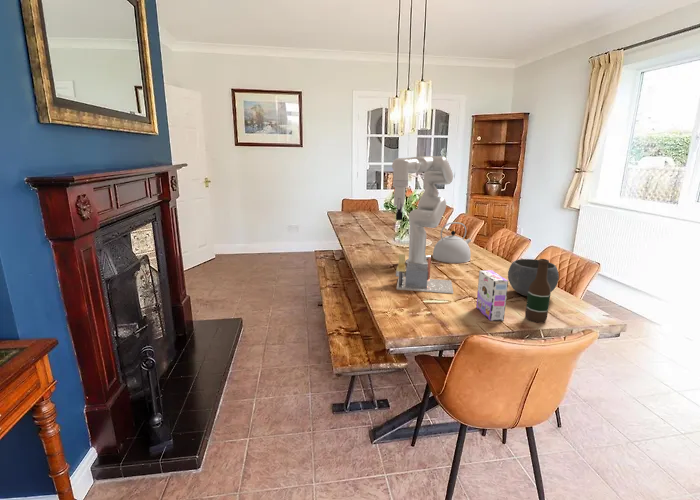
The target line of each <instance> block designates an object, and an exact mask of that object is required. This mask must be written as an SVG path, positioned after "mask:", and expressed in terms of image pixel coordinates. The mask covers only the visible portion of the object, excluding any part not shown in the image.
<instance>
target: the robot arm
mask: <svg viewBox="0 0 700 500" xmlns="http://www.w3.org/2000/svg"><path fill="white" fill-rule="evenodd" d="M391 168H392V170H393V171H392V172H393V175H392V176H393V178H392V180H393V181H392V187H393V188H394V195H393V207H394V208H395V207H396V212H395V213H396V214H395V219H396V220H395V221H402V220H403V215H404V213H403V207H404V205H405V199H406V188H408V187H409V174H417V173H419V174H420V173H424V174H423V184H424V191H423V193H422V196H421V197H420V199H419V201H418V203H417V209H412V210H411V211H410V212H409V214H408V223H409V224H408V225H409V241H408V259H405V264H407V263H414V264H428V257H431V255H430V254H429V255H426V251H427V250H426V247H427V231H426V229H425V228H428V229H429V228H431V229H434V228H437V227H438V226H439V224H440V222H441V220H442V218H443V216H444V214H445V212H446V208H447V201H446V199H445V198H444V197H442V196H439V190H438V189H437V186H436V185H450V184H451V183H453V180H454V174H453V169H452V167H451V166H450V163H449V160H448V158H446V157H445V156H443V155H442V156H441V155H436V156H435V155H434V156H433V155H431V156H430V155H428V156H427V155H426V156H424V155H423V156H412V157H411V156H410V157H397V158H395V159H394V160H393V162H392V164H391Z"/></svg>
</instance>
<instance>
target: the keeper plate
mask: <svg viewBox="0 0 700 500" xmlns="http://www.w3.org/2000/svg"><path fill="white" fill-rule="evenodd" d="M406 267H407V265H406V253H398V264H397V267H396V270H397V271H402V272H405V271H406Z"/></svg>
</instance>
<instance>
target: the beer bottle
mask: <svg viewBox="0 0 700 500" xmlns="http://www.w3.org/2000/svg"><path fill="white" fill-rule="evenodd" d="M538 260H539V261H538V263H539V264H538V269H537V274H536V278H535V280H534V281H533V282H532V283H531V285H530V286H529V290H528V296H526V299H527V300H526V305H525V313H524V314H525V315H524V318H526V319H527V320H528V322H533V323H536V324H539V323H543V324H544V323H545V322H546V321H547V320H548V319H547V318H548V315H549V308H550V302H551V301H550V299H551V293H552V292H551V288H550V284H549V283H548V281H547V272H548V264H549V263H550V260H549V259H547V258H540V259H538Z"/></svg>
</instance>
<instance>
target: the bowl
mask: <svg viewBox="0 0 700 500" xmlns="http://www.w3.org/2000/svg"><path fill="white" fill-rule="evenodd" d="M538 261H539V259H532V258H520V259H516V260H514V261H512V263H511V264H510V266H509V268H508V270H507V280H508V283H509V285H510V286H511V288H512V289H513V290H514V291H515V292H517V294H519V295H522V296H525V297H528V290H529V286H530V285H531V283H532V282H533V281H534V280H535V278H536V274H537V269H538V264H539V263H538ZM559 278H560V275H559V269H558V268H557V266H556V265H555V264H554V263H552V262H549V264H548V272H547V281H548V283H549V284H550V288H551V293H552V292H553V291H554V290H555V288H557V285H558V283H559Z"/></svg>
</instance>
